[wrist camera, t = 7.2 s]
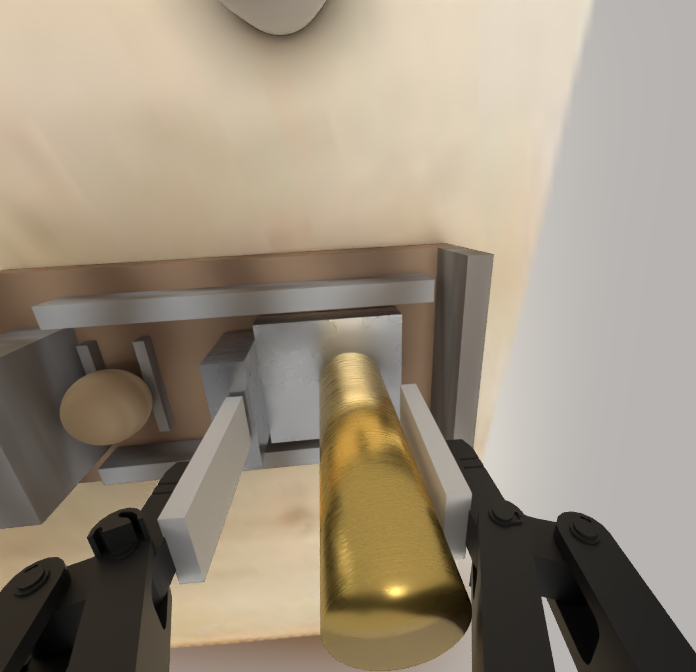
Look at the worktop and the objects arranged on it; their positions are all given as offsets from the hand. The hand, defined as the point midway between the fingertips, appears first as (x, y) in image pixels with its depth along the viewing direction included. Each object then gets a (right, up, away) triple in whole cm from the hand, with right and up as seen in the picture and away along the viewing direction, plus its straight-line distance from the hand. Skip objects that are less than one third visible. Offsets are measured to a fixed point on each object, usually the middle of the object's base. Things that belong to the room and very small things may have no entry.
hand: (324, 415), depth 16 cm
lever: (-1, +2, +4) cm, 5 cm away
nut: (-12, +1, +4) cm, 12 cm away
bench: (-5, +2, +6) cm, 8 cm away
